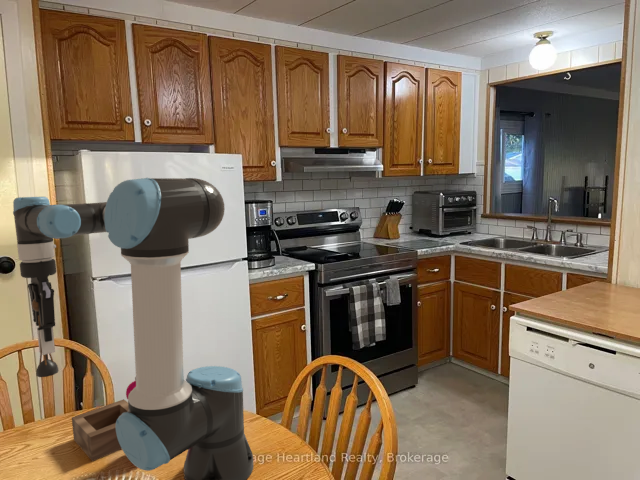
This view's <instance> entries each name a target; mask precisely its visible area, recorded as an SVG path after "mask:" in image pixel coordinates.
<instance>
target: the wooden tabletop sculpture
mask: <svg viewBox="0 0 640 480" xmlns="http://www.w3.org/2000/svg"><path fill="white" fill-rule="evenodd" d="M38 299H39V298H38ZM32 307H33V309H34V310H35V311H39V306H38V302H36V301H35V299H34V300H33V302H32V305H31V308H32ZM38 323H39V327H40V317H39V315H38ZM39 332H40V330H39ZM48 355H49V356H48ZM49 357H50V359H49ZM42 358H43V360H42ZM57 373H59V366H58V363H56V362H55V361H54V359H53V357H52V353H49V354H45V355H42V348H41V338H40V352H39V364H38V366H37V368H36V373H35V375H36V377H37V378H48V377H51V376H52V377H53V376H54V375H56V374H57Z"/></svg>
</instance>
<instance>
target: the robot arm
mask: <svg viewBox="0 0 640 480" xmlns="http://www.w3.org/2000/svg"><path fill="white" fill-rule="evenodd" d="M12 203H13V205H12V206H13V211H12V214H13V218H14V226H15V233H16V243H17V244H16V247H17V253H18V254H17V255H18V260H19V261H21V262H20V263H19V270H20V277H22V278H24V279H30V283H28V284H27V288H28V292H29V297H30V303H31V304H30V305H31V310H32V316H33V317H32V320H33V322H34V323H35V326H36V329H37V330H36V333H37V341H38V352H39V353H40V338H41V348H42V356H44V355H45V354H48V355H49V353H51V354H53V353H56V347H55V346H56V345H55V338H54V329H53V328H54V327H56V317H55V315H56V314H55V300H54V298H55V297H54V296H55V289H54V288H52V287H53V286H52V282H50V280H49V277H50V276H53V275H55V274H56V273H57V265H56V262H57V261H56V259H54V257H55V255H56V254H55V250H54V249H56V248H57V245H56V244H54V239H58V240H59V239H67V238H70V237H73V236H81V235H82V236H83V235H90V234H101V233H108V235H107V237H108V239H109V241H110V242H111V243H112V244H113V246H115V247H117V248H120V255H121V257H123V258H124V259H125V260H126V261H127V262H128V263H129V264H130V276H131V278H130V279H131V297H132V298H131V299H132V317H133V318H132V322H133V323H132V324H133V340H134V341H133V343H134V344H133V345H134V346H133V347H134V363H135V367H134V368H135V377H136V387H135V388H134V389H133V390H132V391H131V392H130V393H129V395H128V399H127V402H128V412H124V413H122V415H120V416H119V418H118V419H117V421H116V434H117V438H118V441H119V444H120V446H121V448H122V449H121V450H122V452H123V454H124V455H125V457H126V458H127V459H128V460H129V461H130V462H131V463H132V465H134V466H135V467H136V468H138V469H139V470H142V471H148V472H149V471H153V470H155V469H158V468H159V467H161V466H163V465H167V464H168V463H169V462H171V460H173V459H175V458H176V457H178V456H179V455H181V454H183V453H185V452H186V451H187V453H186V456H185V460H184V463H183V479H184V480H247V479H249V477H250V475H252V473H253V470H254V455H253V451H252V449H251V445H249V442H248V439H247V437H246V435H245V421H244V415H245V414H244V387H243V384H242V383H243V381H242V376H241V374H240V372H239V371H237V370H236V369H234V368H231V367H227V366H220V365H219V366H217V365H214V366H213V365H210V366H208V365H207V366H201V367H197V368H194V369H191V370H190V371H189V372H188V373H187V374H186V378H184V377H185V375H184V374H185V372H184V371H185V370H184V345H183V344H184V341H183V338H184V337H183V311H182V310H183V308H182V306H183V305H182V304H183V303H182V273H181V272H182V267H181V262H182V261H183V259H184V258H185V257H186V256H187V255H188V254H189V246H190V245H189V244H190V243H189V240H190V239H197V238H201V237H204V236H206V235H209V234H211V233H212V232H213V231H215V230H216V229H217V228H218V227H219V226H220V224H221V223H222V221H223V219H224V215H225V201H224V199H223V196H222V194H221V192H220V191H219V190H218V189H217V187H215V185H213V184H212V183H210V182H208V181H206V180H204V179H202V178H201V179H200V178H195V177H194V178H193V177H188V178H175V177H174V178H165V177H163V178H162V177H161V178H160V177H159V178H155V177H154V178H153V177H152V178H151V177H143V178H133V179H127V180H123V181H121V182H120V183H118V184H117V185H116V186H114V188H113V189H112V191H111V192H110V193H109V196H108V198H107V200H106V202H103V201H102V202H90V203H89V202H88V203H67V204H66V203H65V204H50V199H49V198H48V197H46V196H23V197H21V196H20V197H16V198H14V199H13V202H12ZM38 298H39V299H38ZM34 299H35V301H36V302H38V306H39V311H35V310H34V309H33V307H32V302H33V300H34ZM38 315H39V317H40V327H39V323H38ZM39 330H40V332H39Z"/></svg>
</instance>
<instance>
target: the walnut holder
mask: <svg viewBox="0 0 640 480" xmlns="http://www.w3.org/2000/svg"><path fill="white" fill-rule="evenodd" d="M124 412H128V400H125V399H121V400H118V401H115V402H112V403H109V404H107V405H104V406H101V407H97V408H95V409H92V410H89V411H87V412H83V413H81V414H78V415H74V416H72V417H71V425H72V433H73V441H74V442H75V443H76V444H77V445H78V447H79V448H80V449H81V450H82V451H83V452H84V453H85V455H86V456H87V457H88V458H89V459H90V461H91V462H94V461H97V460H99V459H101V458H103V457H106V456H109V455H111V454H113V453H116V452H118V451H120V450H122V448H121V446H120V444H119V441H118V438H117V434H116V421H117V419H118V418H119V416H120V415H122V413H124Z"/></svg>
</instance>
